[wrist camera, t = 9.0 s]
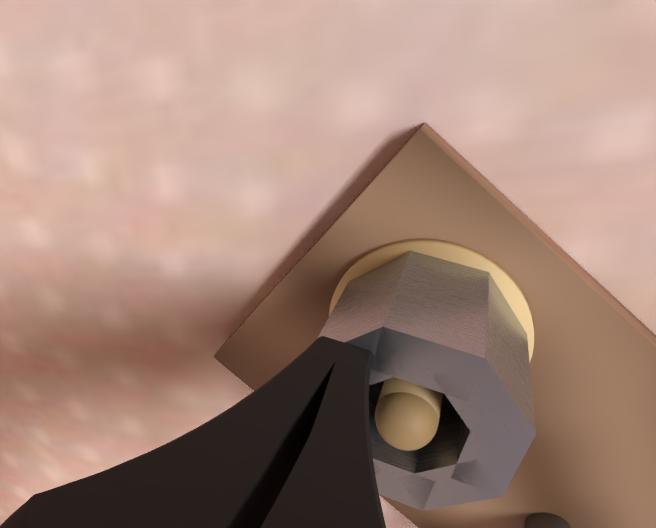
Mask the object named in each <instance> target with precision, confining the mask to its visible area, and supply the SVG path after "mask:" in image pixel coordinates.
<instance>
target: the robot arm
mask: <svg viewBox="0 0 656 528" xmlns="http://www.w3.org/2000/svg"><path fill="white" fill-rule="evenodd" d="M373 360H374V355H373V353H372V352H371V351H370V350H367V349H364V348H360V347H357V346H354V345H351V344H348V343H344V342H341V341H338V340H335V339H331V338H328V337H325V336H321V337H319V338H317V339H316V340H315V341H314V342H313V343H312V344H311V345H310V346H309V347H308V348H307V349H306V350H305V351H304V352H303V353H301V354H300V355H299V356H298V357H297V358H296V359H295V360H293V361H292V362H291V363H290V364H289V365H288V366H286V367H285V368H284V369H283V370H281V371H280V372H279V373H278V374H276V375H275V376H274V377H273V378H271V379H270V380H269V381H268V382H266V383H265V384H264V385H262V386H261V387H260V388H258V389H257V390H255V391H254V392H253V393H251V394H250V395H248V396H247V397H245V398H244V399H243V400H241V401H240V402H238V403H237V404H235V405H234V406H232V407H231V408H229V409H228V410H226V411H225V412H223V413H221V414H220V415H218V416H217V417H215V418H213V419H211V420H210V421H208V422H206V423H205V424H203V425H201V426H199V427H198V428H196V429H194V430H192V431H190V432H188V433H186V434H184V435H182V436H181V437H179V438H177V439H175V440H173V441H171V442H169V443H167V444H165V445H163V446H161V447H159V448H157V449H154V450H152V451H150V452H148V453H145V454H143V455H141V456H138V457H136V458H134V459H131V460H129V461H127V462H124V463H122V464H119V465H117V466H115V467H112V468H110V469H108V470H105V471H102V472H100V473H97V474H95V475H92V476H89V477H86V478H83V479H80V480H77V481H74V482H71V483H68V484H66V485H63V486H60V487H57V488H54V489H51V490H48V491H45V492H42V493H38V494H35V495H33V496H32V497H31V498H30V499H29V500H28V501H27V502H26V503H25V504H23V505H22V506H21V507H20V508H19V509H18V510H16V511H15V512H14V513H13V514H12V515H11V516H10V517H9V518H8V519H7V520H6V521H5V522H4V523H3V524H2V525H1V526H0V528H386V525H385V521H384V517H383V512H382V507H381V503H380V498H379V493H378V487H377V482H376V476H375V470H374V463H373V456H372V447H371V438H370V425H369V380H370V372H371V368H372V364H373Z"/></svg>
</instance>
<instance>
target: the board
mask: <svg viewBox="0 0 656 528" xmlns="http://www.w3.org/2000/svg"><path fill="white" fill-rule="evenodd" d="M410 250H411V251H414V252H418V253H422V254H425V255H429V256H433V257H436V258H440V259H443V260H447V261H451V262H454V263H458V264H462V265H465V266H469V267H473V268H476V269H480V270H483V271H487V272H489V273H490V275H491V276H492V278H493V279H494V281H495V283H496V284H497V286H498V287H499V289H500V291H501V292H502V294H503V296H504V297H505V299H506V300H507V302H508V304H509V305H510V307H511V309H512V310H513V312H514V313H515V315H516V317H517V318H518V320H519V322H520V323H521V325H522V326H523V328H524V330H525V331H526V333H527V340H528V351H529V362H530V373H531V385H532V396H533V407H534V418H535V430H536V436H535V437H534V439H533V441H532V443H531V445H530V447H529V448H528V450H527V452H526V454H525V456H524V458H523V459H522V461H521V463H520V465H519V467H518V469H517V470H516V472H515V474H514V476H513V478H512V480H511V482H510V483H509V485H508V487H507V489H506V491H505V493H504V494H503V497H498V498H492V499H487V500H481V501H476V502H470V503H464V504H459V505H453V506H448V507H442V508H436V509H431V510H425V511H421V510H419V509H416V508H413V507H411V506H408V505H406V504H403V503H400V502H398V501H395V500H392V499H390V498H387V497H385V496H382V495H380V496H382V497H383V498H384V499H385V500H386V501H388V502H389V503H390V504H391V505H392V506H394V507H395V508H396V509H397V510H398V511H400V512H401V513H402V514H403V515H404V516H406V517H407V518H408V519H409V520H410V521H412V522H413V523H414V524H415V525H416V526H418V527H419V528H656V335H655V334H653V333H652V332H651V331H650V330H649V329H648V328H647V327H646V326H645V325H644V324H643V323H642V322H641V321H639V320H638V319H637V318H636V317H635V316H634V315H633V314H632V313H631V312H630V311H629V310H628V309H626V308H625V307H624V306H623V305H622V304H621V303H620V302H619V301H618V300H617V299H616V298H615V297H614V296H612V295H611V294H610V293H609V292H608V291H607V290H606V289H605V288H604V287H603V286H602V285H601V284H599V283H598V282H597V281H596V280H595V279H594V278H593V277H592V276H591V275H590V274H589V273H588V272H586V271H585V270H584V269H583V268H582V267H581V266H580V265H579V264H578V263H577V262H576V261H575V260H574V259H572V258H571V257H570V256H569V255H568V254H567V253H566V252H565V251H564V250H563V249H562V248H561V247H559V246H558V245H557V244H556V243H555V242H554V241H553V240H552V239H551V238H550V237H549V236H548V235H547V234H545V233H544V232H543V231H542V230H541V229H540V228H539V227H538V226H537V225H536V224H535V223H534V222H532V221H531V220H530V219H529V218H528V217H527V216H526V215H525V214H524V213H523V212H522V211H521V210H520V209H518V208H517V207H516V206H515V205H514V204H513V203H512V202H511V201H510V200H509V199H508V198H507V197H505V196H504V195H503V194H502V193H501V192H500V191H499V190H498V189H497V188H496V187H495V186H494V185H492V184H491V183H490V182H489V181H488V180H487V179H486V178H485V177H484V176H483V175H482V174H481V173H480V172H478V171H477V170H476V169H475V168H474V167H473V166H472V165H471V164H470V163H469V162H468V161H467V160H465V159H464V158H463V157H462V156H461V155H460V154H459V153H458V152H457V151H456V150H455V149H454V148H453V147H451V146H450V145H449V144H448V143H447V142H446V141H445V140H444V139H443V138H442V137H441V136H440V135H438V134H437V133H436V132H435V131H434V130H433V129H432V128H431V127H430V126H429V125H428V124H427V123H426V122H425V123H424V124H423V125H422V126H421V128H420V129H419V130H418V131H417V132H416V133H415V134H414V135H413V136H412V137H411V139H410V140H409V141H408V142H407V143H406V144H405V145H404V146H403V147H402V148H401V150H400V151H399V152H398V153H397V154H396V155H395V156H394V157H393V158H392V159H391V161H390V162H389V163H388V164H387V165H386V166H385V167H384V168H383V169H382V170H381V172H380V173H379V174H378V175H377V176H376V177H375V178H374V179H373V180H372V181H371V183H370V184H369V185H368V186H367V187H366V188H365V189H364V190H363V191H362V192H361V193H360V195H359V196H358V197H357V198H356V199H355V200H354V201H353V202H352V203H351V204H350V206H349V207H348V208H347V209H346V210H345V211H344V212H343V213H342V214H341V215H340V217H339V218H338V219H337V220H336V221H335V222H334V223H333V224H332V225H331V226H330V228H329V229H328V230H327V231H326V232H325V233H324V234H323V235H322V236H321V237H320V239H319V240H318V241H317V242H316V243H315V244H314V245H313V246H312V247H311V248H310V250H309V251H308V252H307V253H306V254H305V255H304V256H303V257H302V258H301V259H300V261H299V262H298V263H297V264H296V265H295V266H294V267H293V268H292V269H291V270H290V272H289V273H288V274H287V275H286V276H285V277H284V278H283V279H282V280H281V281H280V283H279V284H278V285H277V286H276V287H275V288H274V289H273V290H272V291H271V292H270V294H269V295H268V296H267V297H266V298H265V299H264V300H263V301H262V302H261V303H260V305H259V306H258V307H257V308H256V309H255V310H254V311H253V312H252V313H251V314H250V316H249V317H248V318H247V319H246V320H245V321H244V322H243V323H242V324H241V325H240V327H239V328H238V329H237V330H236V331H235V332H234V333H233V334H232V335H231V336H230V338H229V339H228V340H227V341H226V342H225V343H224V344H223V346H222V347H221V348H220V349H219V350H218V352H217V353H216V354H215V355H214V358H216V359H217V360H218V361H219V362H220V363H222V364H223V365H224V366H225V367H226V368H228V369H229V370H230V371H231V372H232V373H234V374H235V375H236V376H237V377H238V378H240V379H241V380H242V381H243V382H244V383H246V384H247V385H248V386H249V387H250V388H252V389H253V390H254V391H255V390H257V389H258V388H260V387H261V386H262V385H264V384H265V383H266V382H268V381H269V380H270V379H271V378H273V377H274V376H275V375H276V374H278V373H279V372H280V371H281V370H283V369H284V368H285V367H286V366H288V365H289V364H290V363H291V362H292V361H293V360H295V359H296V358H297V357H298V356H299V355H300V354H301V353H303V352H304V351H305V350H306V349H307V348H308V347H309V346H310V345H311V344H312V343H313V342H314V341H315V340H316V339H317V338H318V336H319V334H320V332H321V330H322V329H323V327H324V325H325V323H326V321H327V320H328V318H329V316H330V314H331V312H332V311H333V309H334V307H335V305H336V303H337V302H338V300H339V298H340V296H341V294H342V292H343V291H344V289H345V287H346V285H347V283H348V282H349V281H350V280H352V279H354V278H356V277H358V276H360V275H362V274H364V273H366V272H368V271H370V270H372V269H374V268H376V267H378V266H380V265H382V264H384V263H386V262H388V261H390V260H392V259H394V258H396V257H398V256H400V255H402V254H405V253H407V252H409V251H410ZM442 396H443V393H441V392H438V391H435V390H432V389H428V388H425V387H422V386H419V385H416V384H413V383H410V382H407V381H404V380H401V379H398V378H395V377H392V378H390V379H387V380H384V383H383V386H382V390H381V393H380V396H379V399H378V403H377V406H376V410H375V422H376V426H377V429H378V431H379V433H380V435H381V436H382V438H383V439H384V440H385V441H386V442H387V443H388V444H390V445H391V446H393V447H395V448H397V449H400V450H406V451H411V450H417V449H420V448H422V447H424V446H425V445H427V444H428V443H429V442H430V441H431V440H432V438H433V437H434V436H435V433H436V431H437V428H438V424H439V417H440V410H441V403H442Z"/></svg>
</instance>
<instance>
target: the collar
mask: <svg viewBox="0 0 656 528" xmlns="http://www.w3.org/2000/svg"><path fill="white" fill-rule="evenodd" d="M321 336H325V337H328V338H331V339H335V340H338V341H341V342H344V343H348V344H351V345H354V346H357V347H360V348H364V349H367V350H370V351H371V352H372V353H373V355H374V360H373V364H372V368H371V372H370V380H369V425H370V438H371V447H372V456H373V463H374V470H375V476H376V482H377V487H378V493H379V495H382V496H385V497H387V498H390V499H392V500H395V501H398V502H400V503H403V504H406V505H408V506H411V507H413V508H416V509H419V510H421V511H425V510H431V509H436V508H442V507H448V506H453V505H459V504H464V503H470V502H476V501H481V500H487V499H492V498H498V497H503V494H504V493H505V491H506V489H507V487H508V485H509V483H510V482H511V480H512V478H513V476H514V474H515V472H516V470H517V469H518V467H519V465H520V463H521V461H522V459H523V458H524V456H525V454H526V452H527V450H528V448H529V447H530V445H531V443H532V441H533V439H534V437H535V436H536V430H535V418H534V407H533V396H532V385H531V373H530V362H529V351H528V340H527V333H526V331H525V330H524V328H523V326H522V325H521V323H520V322H519V320H518V318H517V317H516V315H515V313H514V312H513V310H512V309H511V307H510V305H509V304H508V302H507V300H506V299H505V297H504V296H503V294H502V292H501V291H500V289H499V287H498V286H497V284H496V283H495V281H494V279H493V278H492V276H491V275H490V273H489V272H487V271H483V270H480V269H476V268H473V267H469V266H465V265H462V264H458V263H454V262H451V261H447V260H443V259H440V258H436V257H433V256H429V255H425V254H422V253H418V252H414V251H411V250H410V251H409V252H407V253H405V254H402V255H400V256H398V257H396V258H394V259H392V260H390V261H388V262H386V263H384V264H382V265H380V266H378V267H376V268H374V269H372V270H370V271H368V272H366V273H364V274H362V275H360V276H358V277H356V278H354V279H352V280H350V281H349V282H348V283H347V285H346V287H345V289H344V291H343V292H342V294H341V296H340V298H339V300H338V302H337V303H336V305H335V307H334V309H333V311H332V312H331V314H330V316H329V318H328V320H327V321H326V323H325V325H324V327H323V329H322V330H321V332H320V334H319V336H318V338H319V337H321ZM392 377H395V378H398V379H401V380H404V381H407V382H410V383H413V384H416V385H419V386H422V387H425V388H428V389H432V390H435V391H438V392H441V393H443V396H442V403H441V410H440V417H439V424H438V428H437V431H436V433H435V436H434V437H433V438H432V440H431V441H430V442H429V443H428V444H427V445H425V446H424V447H422V448H420V449H417V450H411V451H406V450H400V449H397V448H395V447H393V446H391V445H390V444H388V443H387V442H386V441H385V440H384V439H383V438H382V436H381V435H380V433H379V431H378V429H377V426H376V422H375V410H376V406H377V403H378V399H379V396H380V393H381V390H382V386H383V383H384V380H387V379H390V378H392Z"/></svg>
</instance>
